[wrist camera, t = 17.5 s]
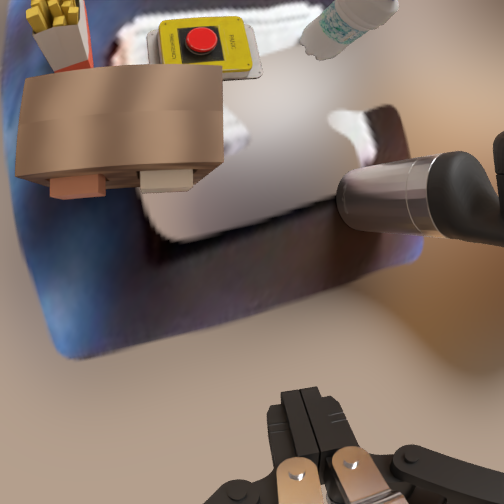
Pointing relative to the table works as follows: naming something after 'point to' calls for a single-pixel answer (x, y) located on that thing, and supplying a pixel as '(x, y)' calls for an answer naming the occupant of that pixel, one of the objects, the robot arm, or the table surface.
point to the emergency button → (207, 45)
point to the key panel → (121, 123)
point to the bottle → (344, 25)
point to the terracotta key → (78, 186)
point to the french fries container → (62, 33)
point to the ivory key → (166, 181)
